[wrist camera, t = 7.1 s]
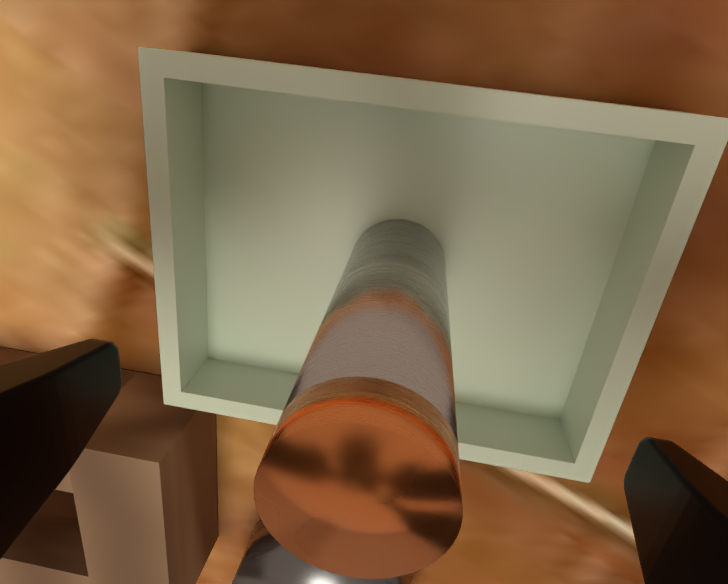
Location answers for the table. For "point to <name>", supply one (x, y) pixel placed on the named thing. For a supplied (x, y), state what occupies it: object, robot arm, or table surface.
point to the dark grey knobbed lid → (289, 566)
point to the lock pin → (371, 419)
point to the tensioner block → (127, 498)
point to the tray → (435, 212)
